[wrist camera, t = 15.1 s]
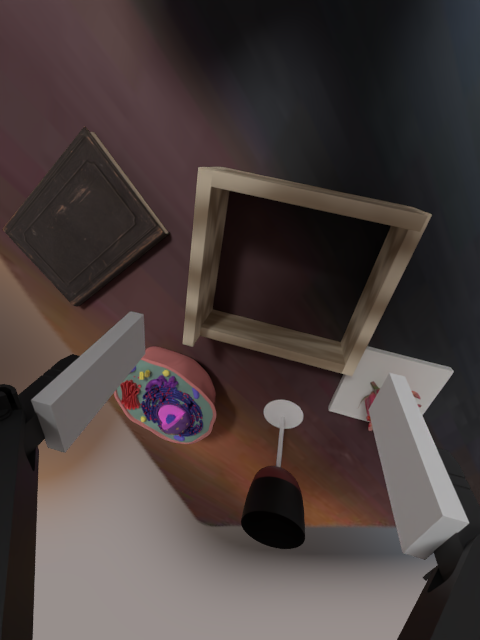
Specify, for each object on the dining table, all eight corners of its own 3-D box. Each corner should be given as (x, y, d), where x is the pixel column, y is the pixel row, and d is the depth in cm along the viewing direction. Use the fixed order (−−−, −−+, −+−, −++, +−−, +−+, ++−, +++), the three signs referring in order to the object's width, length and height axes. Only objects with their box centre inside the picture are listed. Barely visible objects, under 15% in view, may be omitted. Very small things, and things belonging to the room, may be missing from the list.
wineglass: (285, 391, 51) (275, 504, 34) (314, 421, 53) (318, 543, 36) (252, 408, 55) (228, 518, 38) (281, 435, 57) (270, 552, 40)
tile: (357, 343, 44) (358, 347, 43) (450, 367, 43) (454, 371, 42) (328, 406, 51) (328, 410, 50) (407, 428, 50) (409, 433, 49)
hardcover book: (14, 226, 47) (1, 229, 45) (95, 128, 38) (83, 126, 36) (84, 302, 52) (75, 308, 50) (172, 232, 42) (165, 235, 40)
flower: (338, 397, 46) (363, 443, 42) (372, 368, 41) (405, 418, 36) (376, 391, 50) (402, 432, 46) (412, 364, 45) (446, 409, 40)
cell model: (176, 312, 48) (144, 350, 38) (245, 394, 54) (232, 444, 44) (117, 352, 55) (76, 392, 46) (182, 420, 61) (159, 469, 51)
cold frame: (221, 166, 36) (198, 167, 28) (413, 207, 34) (444, 219, 26) (202, 314, 47) (182, 344, 39) (346, 352, 45) (355, 390, 37)
